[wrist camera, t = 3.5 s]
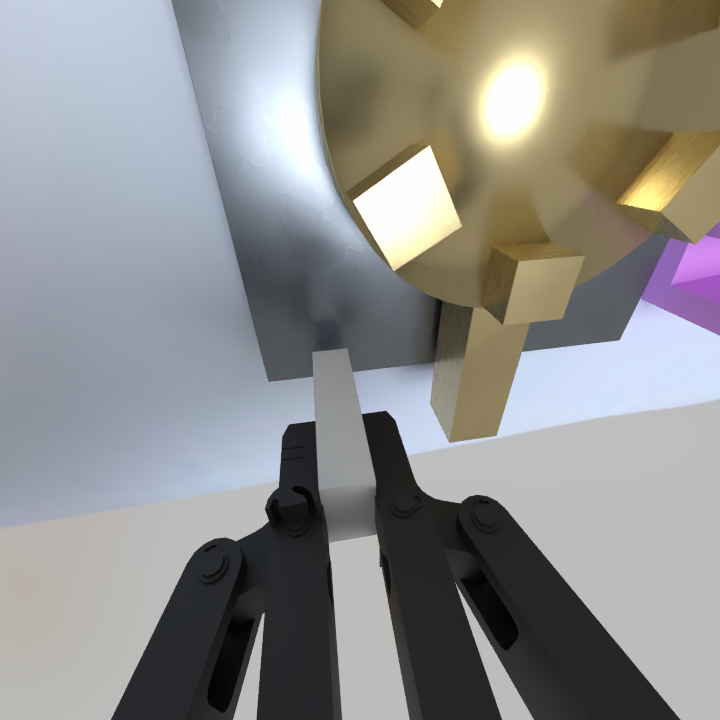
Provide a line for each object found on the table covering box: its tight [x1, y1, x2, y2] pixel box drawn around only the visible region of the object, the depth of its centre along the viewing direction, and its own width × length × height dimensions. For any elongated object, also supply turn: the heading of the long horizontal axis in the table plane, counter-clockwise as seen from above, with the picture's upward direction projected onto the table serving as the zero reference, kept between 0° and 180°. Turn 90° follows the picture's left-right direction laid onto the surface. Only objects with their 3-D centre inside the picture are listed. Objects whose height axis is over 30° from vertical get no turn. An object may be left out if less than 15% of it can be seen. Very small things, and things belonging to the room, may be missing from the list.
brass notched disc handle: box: [314, 0, 720, 443], centre depth 11 cm, size 19×12×4 cm, turn 2°
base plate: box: [172, 0, 670, 382], centre depth 12 cm, size 22×21×2 cm
